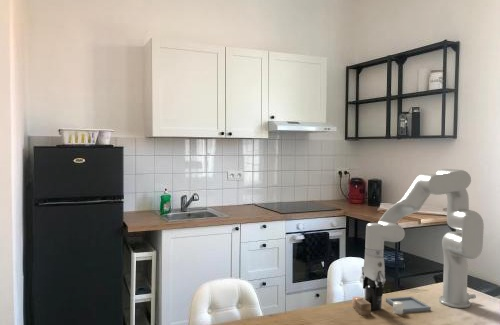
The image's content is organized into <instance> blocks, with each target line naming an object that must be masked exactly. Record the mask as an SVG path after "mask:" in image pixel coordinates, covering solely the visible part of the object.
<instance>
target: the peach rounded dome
mask: <svg viewBox="0 0 500 325" xmlns="http://www.w3.org/2000/svg"><path fill="white" fill-rule="evenodd" d="M356 300H364V299H363V297H361V296H353V297H352V308H353V309H354V310H355V306H356Z"/></svg>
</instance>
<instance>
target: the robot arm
mask: <svg viewBox="0 0 500 325" xmlns="http://www.w3.org/2000/svg"><path fill="white" fill-rule="evenodd" d="M471 182H472V177H471V175H470V173H469V172H468V171H466V170H464V169H454V168H453V169H452V168H441V169H438V170H437V171H436V172H435V173H433V174H432V173H421V174H419V175H417V177H416V178H415V179H414V180H413V182H412V183H411V185H410V187H409V188H408V189H407V190H406V192H405V193H404V195H403V196H402V198H401V199H400V200H398V201H397V202H396V203H394V204H393V205H391V207H389V208H388V209H387V210H386V211H385V212H384V213H383V214H382V215H381V217H380V218H379V220H378V222H369V223H367V224H366V225H365V226H366V227H365V240H364V241H365V244H364V245H365V246H364V247H365V249H364V259H363V260H364V261H363V266H362V267H361V273H362V279H363V280H362V289H364V290H365V287H366V286H367V285H368V279H371V280H373V281H375V284H376V287H375V296H376V297H379V296H382V297H383V293H384V292H383V291H384V289H383V288H384V287H385V284H386V281H387V280H386V276H385V275H386V272H385V271H386V267H385V259H384V250H385V246H384V245H385V242H391V243H398V242H400V241H403V239H404V238H405V235H406V231H405V230H404V228H403V227H402V226H401V225H399V224H398V223H399V221H400V220H401V219H403V218H405V217H407V216H409V215H412V214H415V213H417V212H420V210H421V208H422V207H423V206H424V205H425V203H426V201H427V200H428V199H429V197H430V196H431V195H435V196H438V195H439V196H440V195H446V200H447V203H446V224H447V225H448V227H450V228H451V229H454V230H458V231H459V232H458V231H448V232H446V233H444V235H443V237H442V239H441V246H442V252H443V277H442V278H443V280H442V284H443V285H442V295H441V296H439V297H438V302H439V303H441V304H442V305H445V306H447V307H450V308H456V309H458V308H459V309H467V308H469V307H471V301H470V299H471V300H472V299H476V298H477V295H476V294H475V293H470V294H469V293H468V274H469V273H468V272H469V271H468V268H469V267H468V266H469V265H468V260H475V259H477V258H478V257H480V255H481V254H482V252H483V245H484V244H483V243H484V228H485V226H484V225H485V224H484V220H483V217H482V215H481V214H480V213H479V212H478V211H475V210H471V209H470V207H469V206H470V205H469V204H470V201H469V199H470V198H469V194H468V190H467V189H468V188H469V186H470V185H471ZM460 231H461V232H460ZM378 282H379V284H378Z"/></svg>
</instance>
